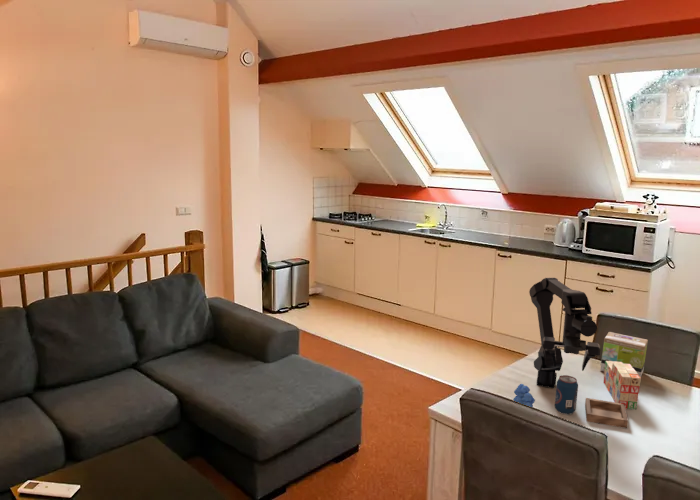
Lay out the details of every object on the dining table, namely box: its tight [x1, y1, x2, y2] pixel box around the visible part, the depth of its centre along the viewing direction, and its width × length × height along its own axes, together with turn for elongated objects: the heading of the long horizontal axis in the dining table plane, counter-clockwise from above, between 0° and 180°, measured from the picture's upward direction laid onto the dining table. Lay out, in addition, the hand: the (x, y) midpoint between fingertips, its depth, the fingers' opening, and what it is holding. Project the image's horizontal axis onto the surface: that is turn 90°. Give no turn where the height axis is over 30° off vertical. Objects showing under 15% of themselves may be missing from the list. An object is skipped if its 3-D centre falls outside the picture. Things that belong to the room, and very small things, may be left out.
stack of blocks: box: [603, 361, 642, 410], centre depth 202 cm, size 21×6×12 cm, turn 169°
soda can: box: [554, 374, 579, 415], centre depth 190 cm, size 7×7×12 cm
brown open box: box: [584, 397, 629, 429], centre depth 187 cm, size 12×12×3 cm
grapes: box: [513, 383, 536, 408], centre depth 185 cm, size 12×7×12 cm, turn 5°
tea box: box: [600, 331, 649, 379], centre depth 222 cm, size 15×10×15 cm
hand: (568, 368), depth 194 cm, fingers open, 9 cm apart
